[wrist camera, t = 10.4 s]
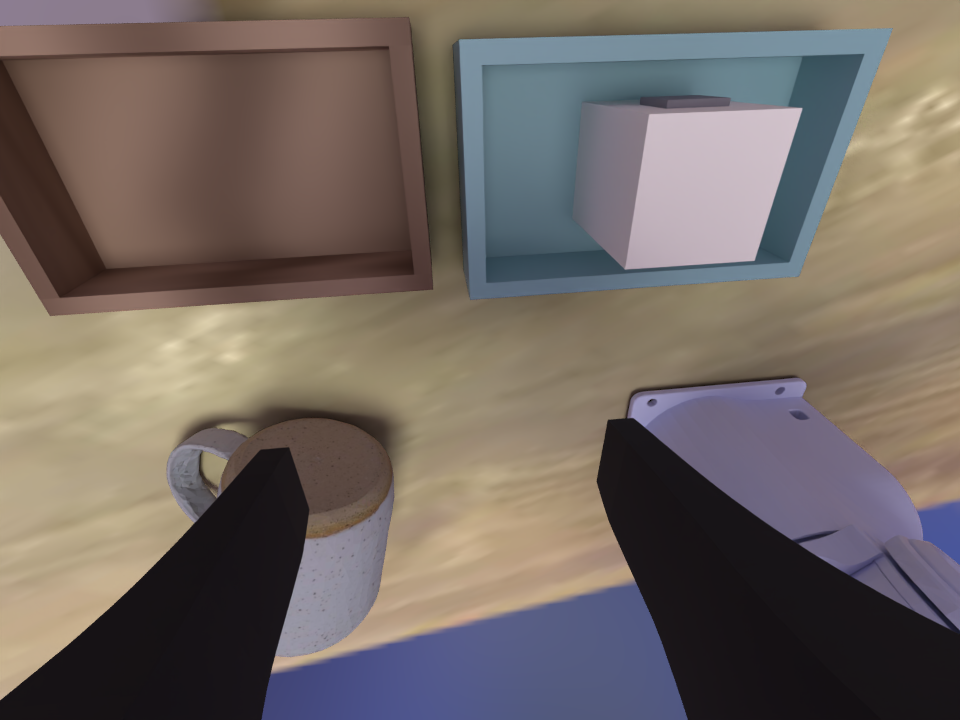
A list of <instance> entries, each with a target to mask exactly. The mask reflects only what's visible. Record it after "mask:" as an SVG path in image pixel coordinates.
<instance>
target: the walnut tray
mask: <svg viewBox="0 0 960 720" xmlns="http://www.w3.org/2000/svg"><path fill="white" fill-rule="evenodd" d="M0 234H1V236H2V238H3V239H4V241H5V243H6V244H7V246H8V247H9V249H10V251H11V252H12V254H13V256H14V257H15V259H16V261H17V262H18V264H19V266H20V267H21V269H22V271H23V272H24V274H25V275H26V277H27V279H28V280H29V282H30V284H31V285H32V287H33V289H34V290H35V292H36V294H37V295H38V297H39V299H40V300H41V302H42V303H43V305H44V307H45V308H46V310H47V312H48V313H49V315H50V316H56V315H70V314H85V313H99V312H114V311H128V310H143V309H157V308H172V307H186V306H201V305H215V304H230V303H245V302H259V301H274V300H288V299H303V298H317V297H332V296H346V295H361V294H375V293H390V292H404V291H419V290H433V279H432V262H431V250H430V238H429V227H428V215H427V204H426V193H425V181H424V170H423V159H422V147H421V136H420V125H419V113H418V102H417V90H416V79H415V68H414V56H413V45H412V34H411V25H410V21H409V17H401V18H354V19H308V20H262V21H215V22H169V23H124V24H76V25H36V26H35V25H34V26H31V25H30V26H0Z"/></svg>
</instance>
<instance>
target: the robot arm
mask: <svg viewBox="0 0 960 720" xmlns="http://www.w3.org/2000/svg"><path fill="white" fill-rule="evenodd" d="M806 386H807V385H806V383H805V382H804V381H803V380H802V379H800V378H789V379H778V380H767V381H756V382H745V383H734V384H723V385H712V386H700V387H689V388H678V389H667V390H656V391H645V392H639V393H637V394H635V395H634V396H633V397H632V398H631V401H630V406H629V412H628V417H627V418H625V419H613V420H608V422H607V428H606V433H605V439H604V444H603V449H602V455H601V460H600V466H599V471H598V477H597V484H598V488H599V491H600V494H601V498H602V501H603V504H604V508H605V511H606V514H607V517H608V520H609V523H610V525H611V527H612V530H613V532H614V534H615V536H616V539H617V541H618V543H619V545H620V548H621V550H622V552H623V554H624V557H625V559H626V561H627V563H628V565H629V568H630V570H631V572H632V574H633V577H634V579H635V581H636V583H637V585H638V587H639V590H640V592H641V594H642V596H643V599H644V601H645V603H646V605H647V607H648V609H649V612H650V614H651V616H652V619H653V621H654V623H655V626H656V628H657V631H658V634H659V636H660V639H661V641H662V644H663V647H664V650H665V653H666V656H667V659H668V661H669V664H670V667H671V670H672V673H673V676H674V679H675V681H676V685H677V687H678V691H679V694H680V696H681V700H682V703H683V705H684V709H685V712H686V715H687V718H688V720H960V565H959V564H958V563H956V562H955V561H954V560H953V559H951V558H950V557H949V556H948V555H946V554H945V553H944V552H943V551H942V550H940V549H939V548H938V547H936V546H935V545H933V544H932V543H930V542H926V541H923V531H922V526H921V522H920V519H919V516H918V513H917V511H916V509H915V507H914V505H913V503H912V501H911V499H910V497H909V496H908V494H907V493H906V491H905V490H904V488H903V487H902V486H901V484H900V483H899V482H898V481H897V480H896V478H895V477H894V476H893V475H892V474H891V473H890V472H889V471H887V470H886V469H885V468H884V467H883V466H882V465H881V464H879V463H878V462H877V461H876V460H875V459H874V458H872V457H871V456H870V455H869V454H868V453H867V452H865V451H864V450H863V449H862V448H861V447H859V446H858V445H857V444H856V443H855V442H854V441H852V440H851V439H850V438H849V437H848V436H847V435H845V434H844V433H843V432H842V431H841V430H840V429H838V428H837V427H836V426H835V425H834V424H833V423H831V422H830V421H829V420H828V419H827V418H826V417H824V416H823V415H822V414H821V413H820V412H818V411H817V410H816V409H815V408H814V407H813V406H811V405H810V404H809V403H808V402H807V401H806V400H804V399H803V398H802V396H803V394H804V391H805V389H806ZM650 399H653V400H652V401H650V402H648V401H649V400H650ZM309 510H310V509H309V506H308V503H307V500H306V497H305V494H304V491H303V488H302V485H301V482H300V479H299V476H298V472H297V469H296V466H295V463H294V460H293V457H292V454H291V451H290V448H289V447H284V448H272V449H260V451H259V452H258V453H257V454H256V455H255V456H254V457H253V458H252V459H251V460H250V462H249V463H248V464H247V465H246V466H245V467H244V468H243V469H242V471H241V472H240V473H239V474H238V475H237V476H236V477H235V479H234V480H233V481H232V482H231V483H230V484H229V485H228V487H227V488H226V489H225V490H224V491H223V492H222V493H221V494H220V496H219V497H218V498H217V499H216V500H215V501H214V502H213V503H212V505H211V506H210V507H209V508H208V509H207V510H206V511H205V512H204V513H203V514H202V516H201V517H200V518H199V519H198V520H197V521H196V522H195V523H194V524H193V525H192V526H191V528H190V529H189V530H188V531H187V532H186V533H185V534H184V535H183V536H182V537H181V538H180V539H179V540H178V542H177V543H176V544H175V545H174V546H173V547H172V548H171V549H170V550H169V551H168V552H167V553H166V554H165V555H164V556H163V557H162V558H161V559H160V560H159V561H158V562H157V563H156V564H155V565H154V566H153V567H152V568H151V569H150V570H149V571H148V572H147V573H146V574H145V575H144V576H143V577H142V578H141V579H140V580H139V581H138V582H137V583H136V584H135V585H134V586H133V587H132V588H131V589H130V590H129V591H128V592H127V593H125V594H124V595H123V596H122V597H121V598H120V599H119V600H118V601H117V602H116V603H115V604H114V605H113V606H112V607H110V608H109V609H108V610H107V611H106V612H105V613H104V614H103V615H101V616H100V617H99V618H98V619H97V620H96V621H95V622H94V623H92V624H91V625H90V626H89V627H88V628H87V629H86V630H85V631H84V632H82V633H81V634H80V635H79V636H78V637H77V638H76V639H74V640H73V641H72V642H71V643H70V644H69V645H67V646H66V647H65V648H64V649H63V650H61V651H60V652H59V653H58V654H56V655H55V656H54V657H53V658H52V659H50V660H49V661H48V662H47V663H45V664H44V665H43V666H42V667H41V668H39V669H38V670H37V671H36V672H34V673H33V674H32V675H31V676H30V677H28V678H27V679H26V680H25V681H23V682H22V683H21V684H20V685H19V686H17V687H16V688H15V689H14V690H12V691H11V692H10V693H9V694H8V695H6V696H5V697H4V698H3V699H1V700H0V720H261V719H262V713H263V708H264V702H265V697H266V691H267V686H268V682H269V678H270V674H271V670H272V666H273V662H274V658H275V654H276V651H277V647H278V644H279V640H280V636H281V633H282V629H283V626H284V622H285V618H286V615H287V611H288V608H289V604H290V600H291V597H292V593H293V590H294V586H295V582H296V578H297V575H298V571H299V567H300V564H301V560H302V556H303V551H304V544H305V538H306V532H307V524H308V517H309Z"/></svg>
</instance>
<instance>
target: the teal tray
mask: <svg viewBox="0 0 960 720" xmlns="http://www.w3.org/2000/svg"><path fill="white" fill-rule="evenodd" d="M892 29H893V28H887V29H848V30H809V31H770V32H731V33H692V34H653V35H614V36H575V37H536V38H497V39H459V40H458V41H457V42H456V43H455V44H453V61H454V82H455V103H456V123H457V144H458V165H459V185H460V206H461V227H462V247H463V268H464V274H465V278H466V283H467V288H468V292H469V297H470V300H474V299H488V298H502V297H516V296H530V295H544V294H559V293H573V292H587V291H601V290H615V289H629V288H643V287H657V286H671V285H685V284H699V283H713V282H727V281H741V280H755V279H769V278H783V277H797V276H799V275H800V272H801V269H802V267H803V264H804V261H805V259H806V256H807V253H808V251H809V248H810V245H811V243H812V240H813V238H814V235H815V232H816V230H817V227H818V224H819V222H820V219H821V216H822V214H823V211H824V209H825V206H826V203H827V201H828V198H829V195H830V193H831V190H832V187H833V185H834V182H835V180H836V177H837V174H838V172H839V169H840V166H841V164H842V161H843V158H844V156H845V153H846V150H847V148H848V145H849V143H850V140H851V137H852V135H853V132H854V129H855V127H856V124H857V121H858V119H859V116H860V114H861V111H862V108H863V106H864V103H865V100H866V98H867V95H868V92H869V90H870V87H871V85H872V82H873V79H874V77H875V74H876V71H877V69H878V66H879V63H880V61H881V58H882V55H883V53H884V50H885V48H886V45H887V42H888V40H889V37H890V34H891V32H892ZM683 95H704V96H716V97H728V98H731V101H733V102H744V103H754V104H765V105H776V106H786V107H797V108H803V109H802V112H801V115H800V118H799V121H798V124H797V128H796V131H795V134H794V137H793V140H792V143H791V147H790V150H789V153H788V156H787V159H786V162H785V166H784V169H783V172H782V175H781V178H780V181H779V185H778V188H777V191H776V194H775V197H774V200H773V204H772V207H771V210H770V213H769V216H768V220H767V223H766V226H765V229H764V232H763V235H762V239H761V242H760V245H759V248H758V251H757V254H756V258H755V261H744V262H729V263H714V264H700V265H685V266H670V267H656V268H641V269H626V270H625V269H624V268H623V267H622V266H621V265H620V264H619V263H618V262H617V261H616V260H615V259H614V258H613V257H612V256H611V255H610V254H608V253H607V252H606V251H605V250H604V249H603V248H602V247H601V246H600V245H599V244H598V243H597V242H596V241H595V240H594V239H593V238H592V237H591V236H590V235H589V234H588V233H587V232H586V231H585V230H584V229H583V228H582V227H581V226H580V225H578V224H577V223H576V222H575V221H574V220H573V219H572V215H573V203H574V191H575V179H576V167H577V155H578V143H579V131H580V119H581V107H582V102H591V101H617V100H640V98H641V97H657V96H683Z"/></svg>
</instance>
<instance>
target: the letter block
mask: <svg viewBox="0 0 960 720" xmlns="http://www.w3.org/2000/svg"><path fill="white" fill-rule="evenodd" d="M802 109H803V108H797V107H786V106H776V105H765V104H754V103H744V102H733V101H731V98H728V97H716V96H704V95H683V96H657V97H641V98H640V100H617V101H591V102H582V107H581V119H580V131H579V143H578V155H577V167H576V179H575V191H574V203H573V215H572V219H573V220H574V221H575V222H576V223H577V224H578V225H580V226H581V227H582V228H583V229H584V230H585V231H586V232H587V233H588V234H589V235H590V236H591V237H592V238H593V239H594V240H595V241H596V242H597V243H598V244H599V245H600V246H601V247H602V248H603V249H604V250H605V251H606V252H607V253H608V254H610V255H611V256H612V257H613V258H614V259H615V260H616V261H617V262H618V263H619V264H620V265H621V266H622V267H623V268H624V269H625V270H626V269H641V268H656V267H670V266H685V265H700V264H714V263H729V262H744V261H755V258H756V254H757V251H758V248H759V245H760V242H761V239H762V235H763V232H764V229H765V226H766V223H767V220H768V216H769V213H770V210H771V207H772V204H773V200H774V197H775V194H776V191H777V188H778V185H779V181H780V178H781V175H782V172H783V169H784V166H785V162H786V159H787V156H788V153H789V150H790V147H791V143H792V140H793V137H794V134H795V131H796V128H797V124H798V121H799V118H800V115H801V112H802Z"/></svg>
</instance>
